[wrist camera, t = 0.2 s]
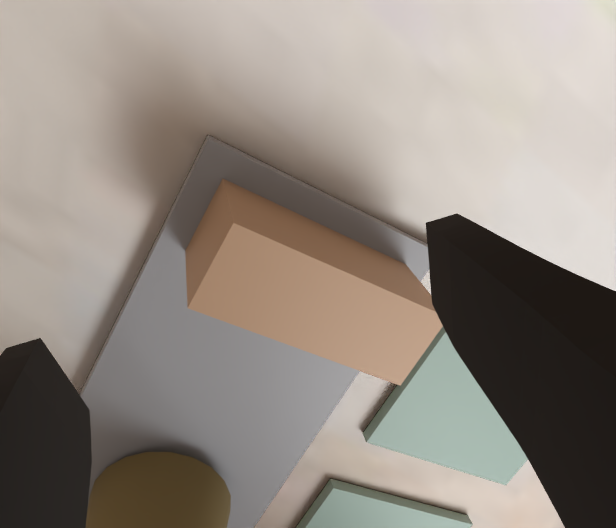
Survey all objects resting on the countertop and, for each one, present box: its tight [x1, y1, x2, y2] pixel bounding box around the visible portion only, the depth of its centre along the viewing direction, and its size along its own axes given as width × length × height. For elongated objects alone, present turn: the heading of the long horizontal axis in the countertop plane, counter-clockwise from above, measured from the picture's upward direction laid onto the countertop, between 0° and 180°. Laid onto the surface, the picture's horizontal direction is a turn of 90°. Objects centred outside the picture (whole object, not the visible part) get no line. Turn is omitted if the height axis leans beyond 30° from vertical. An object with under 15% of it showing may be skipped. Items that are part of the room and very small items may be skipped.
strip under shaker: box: [79, 135, 443, 528], centre depth 23 cm, size 22×10×5 cm, turn 150°
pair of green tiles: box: [296, 327, 528, 528], centre depth 29 cm, size 22×9×1 cm, turn 150°
